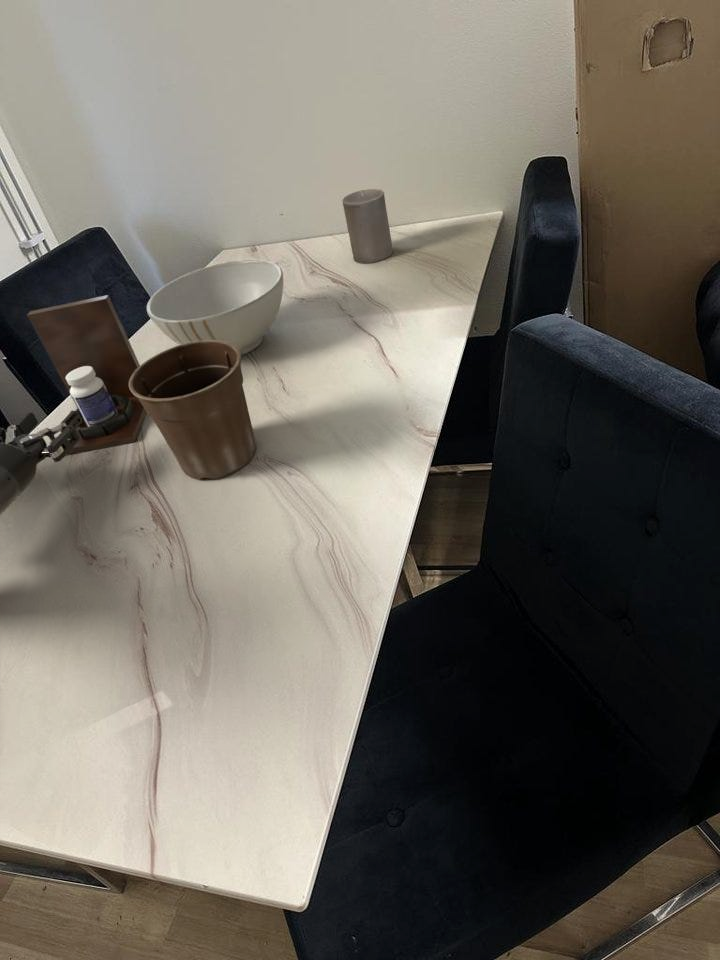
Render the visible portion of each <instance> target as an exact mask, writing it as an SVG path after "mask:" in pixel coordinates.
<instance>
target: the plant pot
mask: <svg viewBox="0 0 720 960" xmlns="http://www.w3.org/2000/svg"><path fill="white" fill-rule="evenodd" d="M241 362H242V355H241V353H240V350H239V349H238V348H237V347H236V346H235V345H234V344H232V343H229V342H226V341H221V340H203V341H195V342H189V343H185V344H181V345H179V344H177V345H175V346H173V347H170V348H168V349H164V350H163V351H161V352H158V353H157V354H155V355H153V356H152V357H150V358H148V359H146V361H144V362H143V363H141V364H140V366H139V367H138V368H137V369H136V370H135V371H134V373H133V374H132V376H131V378H130V380H129V388H130V390H131V392H132V394H133V395H134V396H135V397H137V398H138V399H139V400H140V402H141V404H142V405H143V407H144V409H145V410H146V412H147V413H146V414H148V415H149V416H150V417H151V418H152V420H153V422H154V423H155V426H156V427H157V429H158V430H159V432H160V433H161V435H162V437H163V439H164V440H165V442H166V444H167V445H168V448H169V449H170V452H172V454H173V456H174V459H176V461H177V463H178V465H179V467H180V469H181V471H182V472H183V473H184V474H185V475H186V476H188V477H189V478H191V479H195V480H199V481H200V480H203V479H204V478H205V479H210V480H216V479H221V478H224V477H227V476H230V475H232V474H234V473H236V472H237V471H239V470H241V469H242V468H244V467H245V466H246V465H248V464H249V463H250V462H251V461H252V459H253V457H254V452H255V451H256V450H257V441H256V437H255V434H254V429H253V425H252V420H251V416H250V412H249V408H248V403H247V398H246V395H245V389H244V385H243V384H244V376H243V375H244V374H243V372H242V367H241V366H242V365H241Z"/></svg>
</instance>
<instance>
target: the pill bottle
mask: <svg viewBox="0 0 720 960" xmlns="http://www.w3.org/2000/svg"><path fill="white" fill-rule="evenodd" d="M95 375H96V373H95V371H94V369H93V368H92V367H91V366H83V367H80V368H77V369H75V370H73V371H71V372H69V373H68V374H67V375H66V380H67V382H68V384H69V385H70V386H72V387H71V389H70V393H69V395H70V394H71V395H70V397H71V396H72V397H71V399H72V398H73V399H72V401H73V400H74V401H73V402H75V403H74V404H75V407H76V408H77V407H78V409H79V411H80V413H81V415H82V417H83V419H84V421H85V422H86V424H87V426H88V427H90V426H96V425H101V424H104V423H105V422H107V421H109V420H110V419H112V418H114V417H115V416H117V415H118V414H119V413H118V411H117V409H116V407H115V405H114V403H113V401H112V399H111V397H110V395H109V393H108V391H107V389H106V387H105V385H104V383H103V381H102V380H101V379H100V378H98V377H95Z"/></svg>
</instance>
